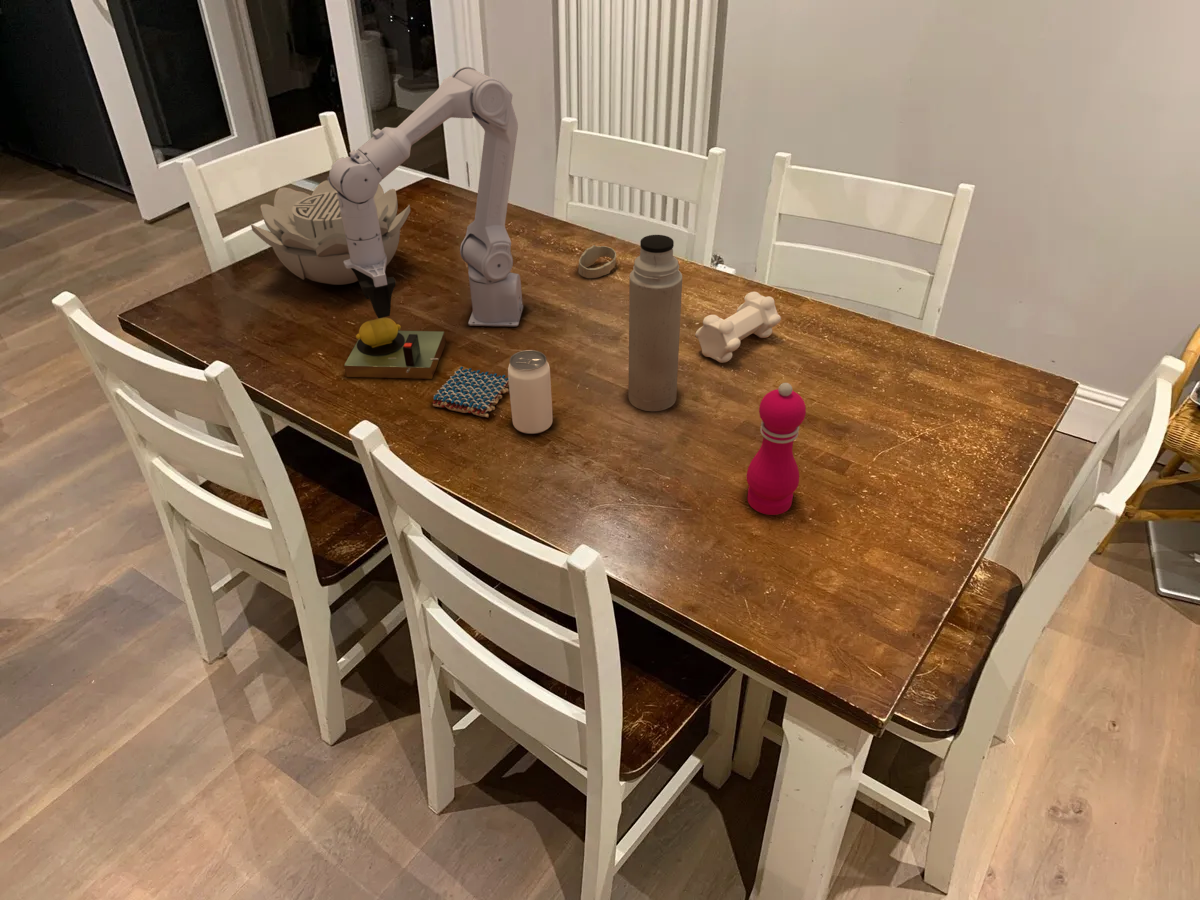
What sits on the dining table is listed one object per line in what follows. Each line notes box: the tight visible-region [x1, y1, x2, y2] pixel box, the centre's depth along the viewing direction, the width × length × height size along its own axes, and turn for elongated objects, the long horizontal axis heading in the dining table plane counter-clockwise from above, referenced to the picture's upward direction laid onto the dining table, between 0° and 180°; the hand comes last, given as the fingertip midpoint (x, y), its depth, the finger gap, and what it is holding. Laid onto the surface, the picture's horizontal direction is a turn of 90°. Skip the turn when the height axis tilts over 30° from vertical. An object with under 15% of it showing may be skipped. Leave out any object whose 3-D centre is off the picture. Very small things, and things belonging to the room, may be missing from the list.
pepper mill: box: [745, 382, 807, 516], centre depth 116 cm, size 7×7×20 cm
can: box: [507, 349, 554, 435], centre depth 134 cm, size 6×6×12 cm
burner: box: [356, 333, 405, 356], centre depth 153 cm, size 8×8×1 cm
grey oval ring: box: [577, 244, 617, 279], centre depth 178 cm, size 9×6×5 cm
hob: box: [343, 330, 447, 380], centre depth 152 cm, size 16×14×3 cm
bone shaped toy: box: [694, 291, 782, 364], centre depth 153 cm, size 15×9×8 cm, turn 135°
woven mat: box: [432, 366, 510, 419], centre depth 143 cm, size 10×11×2 cm
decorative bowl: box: [250, 179, 411, 286], centre depth 176 cm, size 30×30×15 cm
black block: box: [403, 334, 420, 366], centre depth 148 cm, size 5×2×4 cm, turn 176°
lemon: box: [355, 317, 402, 348], centre depth 152 cm, size 8×4×4 cm, turn 116°
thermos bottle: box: [627, 234, 683, 412], centre depth 134 cm, size 8×8×28 cm
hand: (377, 306), depth 150 cm, fingers open, 7 cm apart
